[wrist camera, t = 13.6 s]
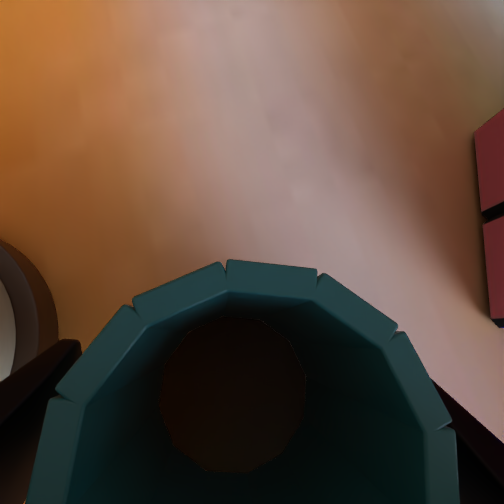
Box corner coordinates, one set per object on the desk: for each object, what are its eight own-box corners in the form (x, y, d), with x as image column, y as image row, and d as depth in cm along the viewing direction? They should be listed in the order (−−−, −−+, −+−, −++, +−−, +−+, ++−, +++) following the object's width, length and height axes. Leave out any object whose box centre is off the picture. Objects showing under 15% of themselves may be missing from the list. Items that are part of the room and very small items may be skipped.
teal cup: (255, 531, 12) (323, 900, 4) (107, 415, 12) (-84, 552, 5) (349, 367, 14) (521, 409, 6) (216, 271, 14) (213, 192, 6)
